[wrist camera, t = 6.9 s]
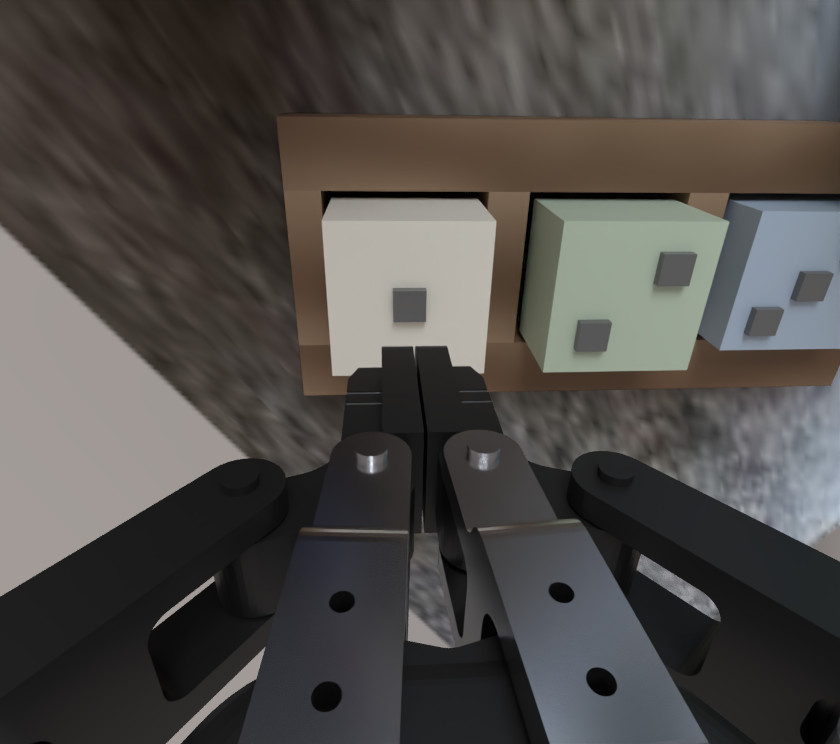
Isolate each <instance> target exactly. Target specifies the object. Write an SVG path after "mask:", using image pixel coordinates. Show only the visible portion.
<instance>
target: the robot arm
mask: <svg viewBox="0 0 840 744" xmlns="http://www.w3.org/2000/svg"><path fill="white" fill-rule="evenodd" d="M345 403H346V405H345V411H344V420H343V429H342V438H341V441H340V442H339V443H338V444H337V445H336V446H335V447H334V449H333V450H332V453H331V456H330V460H329V462H328V463H327V464H325V465H324V466H322V467H320V468H318V469H316V470H313V471H311V472H307V473H304V474H300V475H296V476H292V477H287V478H286V477H285V473H284V472H283V470H282V469H281V468H280V467H279V466H278V465H276V464H275V463H273V462H270V461H267V460H263V459H252V458H248V459H240V460H234V461H231V462H227V463H225V464H223V465H220V466H218V467H216V468H214V469H212V470H211V471H209V472H207V473H206V474H204V475H202V476H201V477H199V478H197V479H196V480H194V481H193V482H191V483H189V484H187V485H186V486H184V487H182V488H181V489H179V490H178V491H176V492H174V493H173V494H171V495H169V496H167V497H166V498H164V499H163V500H161V501H159V502H158V503H156V504H154V505H152V506H151V507H149V508H147V509H146V510H144V511H142V512H141V513H139V514H137V515H136V516H134V517H132V518H131V519H129V520H127V521H126V522H124V523H122V524H121V525H119V526H117V527H116V528H114V529H112V530H111V531H109V532H107V533H106V534H104V535H102V536H101V537H99V538H97V539H96V540H94V541H92V542H91V543H89V544H87V545H86V546H84V547H83V548H81V549H79V550H77V551H76V552H74V553H72V554H71V555H69V556H67V557H66V558H64V559H62V560H61V561H59V562H57V563H56V564H54V565H53V566H51V567H49V568H47V569H46V570H44V571H42V572H41V573H39V574H37V575H36V576H34V577H32V578H31V579H29V580H27V581H26V582H24V583H22V584H21V585H19V586H18V587H16V588H14V589H12V590H11V591H9V592H7V593H6V594H4V595H2V596H1V597H0V744H166V743H167V742H168V741H169V740H170V739H171V738H172V737H173V736H174V735H175V734H176V733H177V732H178V731H179V730H180V729H181V728H182V727H183V726H184V725H185V724H186V723H187V722H188V721H189V720H190V719H191V718H192V717H193V716H194V715H195V714H197V712H199V711H200V710H201V709H202V708H203V707H204V706H205V705H206V704H207V703H208V702H209V701H210V700H211V699H212V698H213V697H214V696H215V695H216V694H217V693H218V692H219V691H220V690H221V689H222V688H223V687H224V686H225V685H226V684H227V683H228V682H229V681H230V680H232V679H233V678H234V677H235V676H236V675H237V674H238V673H239V672H240V671H241V670H242V669H243V668H244V667H245V666H246V665H247V664H248V663H249V662H250V661H251V660H252V659H253V658H254V657H255V656H256V655H257V654H258V653H259V652H260V651H261V650H262V649H263V648H264V647H266V648H265V651H264V655H263V659H262V662H261V665H260V669H259V672H258V676H257V679H256V680H254V681H252V682H251V683H249V684H247V685H246V686H245V687H243V688H241V689H240V690H238V691H237V692H235V693H234V694H233V695H231V696H230V697H229V698H228V699H226V700H225V701H224V702H223V703H221V704H220V705H219V706H218V707H217V708H216V709H215V710H213V711H212V712H211V713H210V714H209V715H208V716H207V717H206V718H205V719H204V720H203V721H202V722H201V723H200V724H199V725H198V726H197V727H196V728H195V729H194V731H193V732H192V733H191V734H190V735H189V736H188V737H187V738H186V739H185V740H184V741H183V742H182V743H181V744H840V562H839V561H837V560H835V559H833V558H831V557H829V556H827V555H825V554H823V553H821V552H819V551H817V550H815V549H813V548H811V547H809V546H807V545H806V544H804V543H802V542H800V541H798V540H796V539H794V538H792V537H790V536H788V535H786V534H784V533H782V532H780V531H778V530H776V529H774V528H772V527H770V526H768V525H766V524H764V523H762V522H760V521H758V520H756V519H754V518H752V517H750V516H748V515H746V514H744V513H742V512H740V511H738V510H736V509H734V508H732V507H730V506H728V505H726V504H724V503H722V502H720V501H718V500H716V499H714V498H712V497H710V496H708V495H706V494H704V493H702V492H700V491H698V490H696V489H694V488H692V487H690V486H688V485H686V484H684V483H682V482H680V481H678V480H676V479H674V478H672V477H670V476H668V475H666V474H664V473H662V472H660V471H658V470H656V469H654V468H652V467H650V466H648V465H646V464H644V463H642V462H640V461H638V460H636V459H634V458H631V457H629V456H626V455H623V454H619V453H615V452H608V451H594V452H589V453H586V454H583V455H581V456H579V457H578V458H577V459H576V460H575V461H574V463H573V465H572V469H571V471H566V470H561V469H555V468H550V467H545V466H541V465H538V464H535V463H532V462H530V461H527V459H526V457H525V455H524V453H523V451H522V449H521V448H520V446H519V445H518V444H517V443H516V442H515V441H514V440H512V439H511V438H509V437H507V436H505V435H504V434H503V432H502V429H501V426H500V423H499V420H498V418H497V415H496V412H495V409H494V406H493V404H492V402H491V398H490V395H489V392H487V387H486V384H485V381H484V378H483V376H481V375H480V374H479V373H478V372H476V371H475V370H474V369H473V368H472V367H470V366H452V363H451V359H450V355H449V351H448V348H447V346H415V358H414V350H413V346H384V347H382V367H371V368H358V369H357V370H356V371H355V372H354V373H353V374H352V375H351V376H350V377H349V378H348V384H347V394H346V402H345ZM422 511H423V521H424V531H425V533H436V532H437V533H438V541H439V551H438V569H439V574H440V579H441V583H442V588H443V592H444V597H445V602H446V606H447V611H448V616H449V620H450V625H451V629H452V634H453V639H454V643H455V648H441V647H436V646H431V645H426V644H420V643H415V642H410V641H408V613H409V582H410V559H411V558H412V555H413V552H414V533H421V523H422ZM641 554H643V555H644V556H646V557H648V558H649V559H651V560H652V561H654V562H656V563H657V564H659V565H660V566H662V567H664V568H665V569H667V570H668V571H670V572H672V573H673V574H675V575H677V576H678V577H680V578H681V579H683V580H685V581H686V582H688V583H689V584H691V585H693V586H694V587H696V588H697V589H699V590H701V591H702V592H704V593H705V594H706V595H707V596H708V597H709V598H710V599H711V600H712V601H713V602H714V603H715V605H716V607H717V608H718V610H719V613H720V617H721V622H719V621H716V620H714V619H712V618H710V617H708V616H707V615H705V614H704V613H702V612H700V611H699V610H697V609H696V608H694V607H693V606H691V605H690V604H688V603H686V602H685V601H683V600H682V599H680V598H679V597H677V596H676V595H674V594H673V593H671V592H669V591H668V590H666V589H665V588H663V587H662V586H660V585H659V584H657V583H656V582H654V581H652V580H651V579H649V578H648V577H646V576H645V575H643V574H642V573H640V572H638V571H637V570H636V569H637V565H638V562H639V558H640V555H641ZM212 576H214V579H215V581H214V582H213V583H212V584H210V585H209V586H208V587H207V588H205V589H204V590H203V591H201V592H200V593H199V594H198V595H196V596H195V597H194V598H193V599H191V600H190V601H189V602H188V603H186V604H185V605H184V606H182V607H181V608H180V609H179V610H177V611H176V612H175V613H174V614H172V615H171V616H170V617H168V618H167V619H166V620H165V621H163V622H162V623H161V624H159V625H158V626H157V627H156V628H154V629H153V627H154V626H155V624H156V623H157V622H158V620H159V619H160V618H161V617H162V616H163V615H164V614H165V613H166V612H167V611H169V610H170V609H171V608H172V607H174V606H175V605H176V604H178V603H179V602H180V601H181V600H183V599H184V598H185V597H186V596H188V595H189V594H190V593H192V592H193V591H194V590H195V589H197V588H198V587H200V586H201V585H202V584H203V583H205V582H206V581H207V580H208V579H210V578H211V577H212ZM152 629H153V630H152Z"/></svg>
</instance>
